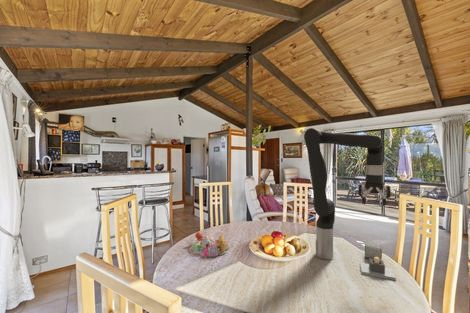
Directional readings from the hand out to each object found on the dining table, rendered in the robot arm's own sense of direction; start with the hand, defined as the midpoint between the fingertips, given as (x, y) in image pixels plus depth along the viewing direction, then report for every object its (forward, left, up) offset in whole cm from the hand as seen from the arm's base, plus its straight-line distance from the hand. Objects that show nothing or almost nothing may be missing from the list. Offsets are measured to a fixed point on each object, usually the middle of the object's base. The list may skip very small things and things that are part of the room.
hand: (373, 204), depth 118 cm
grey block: (+1, -4, -32) cm, 32 cm away
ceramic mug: (+1, +14, -33) cm, 36 cm away
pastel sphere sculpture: (-90, -16, -34) cm, 98 cm away
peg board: (+1, -4, -33) cm, 33 cm away
